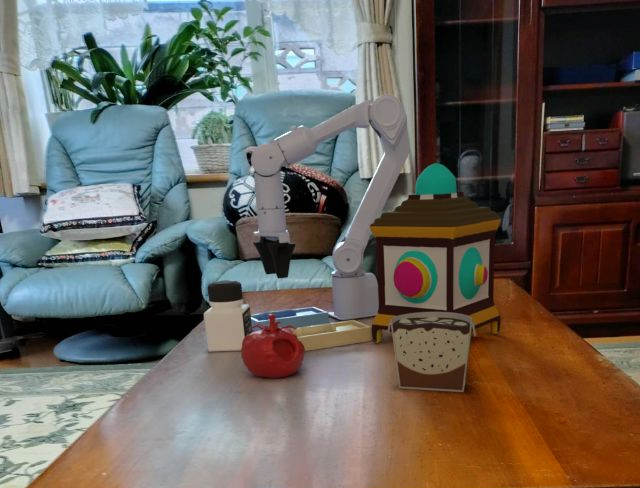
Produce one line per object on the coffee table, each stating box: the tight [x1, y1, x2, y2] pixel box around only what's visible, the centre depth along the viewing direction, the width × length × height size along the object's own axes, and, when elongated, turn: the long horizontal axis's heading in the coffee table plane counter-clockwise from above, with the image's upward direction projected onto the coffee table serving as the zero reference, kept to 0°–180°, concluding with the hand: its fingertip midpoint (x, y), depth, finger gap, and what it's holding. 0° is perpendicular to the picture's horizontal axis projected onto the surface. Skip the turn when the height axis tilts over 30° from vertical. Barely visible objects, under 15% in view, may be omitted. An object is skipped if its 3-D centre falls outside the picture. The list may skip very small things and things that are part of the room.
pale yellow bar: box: [294, 322, 358, 337], centre depth 125 cm, size 12×4×3 cm, turn 116°
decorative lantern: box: [370, 162, 502, 344], centre depth 120 cm, size 20×20×30 cm
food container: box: [387, 312, 477, 393], centre depth 97 cm, size 12×6×10 cm, turn 71°
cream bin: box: [291, 319, 373, 352], centre depth 125 cm, size 15×8×3 cm, turn 116°
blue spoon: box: [258, 308, 315, 321], centre depth 140 cm, size 12×4×3 cm, turn 116°
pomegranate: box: [240, 314, 306, 379], centre depth 106 cm, size 10×10×9 cm
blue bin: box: [251, 306, 330, 333], centre depth 140 cm, size 15×8×3 cm, turn 116°
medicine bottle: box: [203, 279, 253, 353], centre depth 124 cm, size 7×7×12 cm
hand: (276, 275), depth 144 cm, fingers open, 7 cm apart
